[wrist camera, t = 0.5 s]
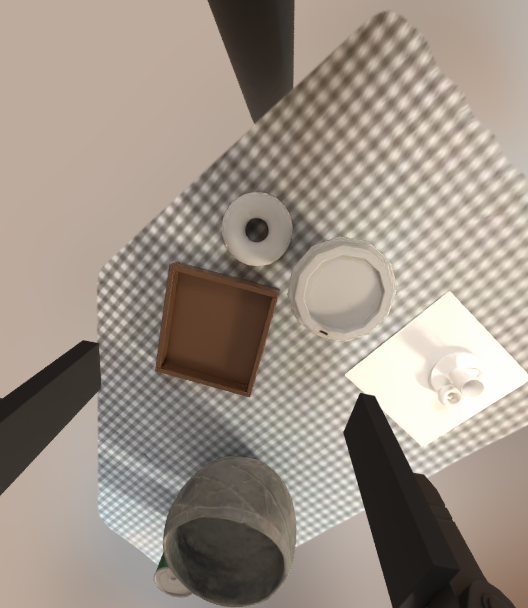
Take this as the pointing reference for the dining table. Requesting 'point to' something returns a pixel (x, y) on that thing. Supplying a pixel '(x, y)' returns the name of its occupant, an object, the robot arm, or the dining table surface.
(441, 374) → the white rounded piece
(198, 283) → the tray
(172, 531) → the bowl
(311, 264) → the disposable coffee cup
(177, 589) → the canned tomato
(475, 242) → the dining table surface
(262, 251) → the donut
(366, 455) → the robot arm
